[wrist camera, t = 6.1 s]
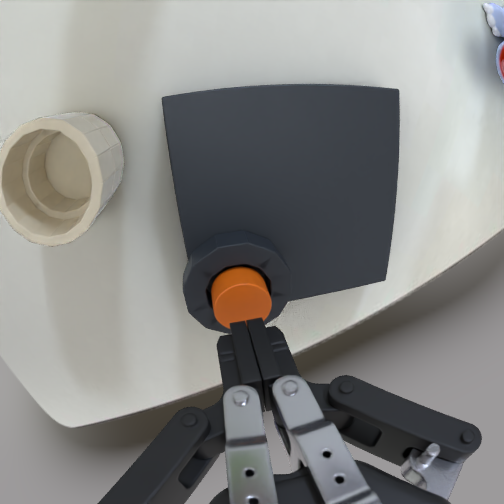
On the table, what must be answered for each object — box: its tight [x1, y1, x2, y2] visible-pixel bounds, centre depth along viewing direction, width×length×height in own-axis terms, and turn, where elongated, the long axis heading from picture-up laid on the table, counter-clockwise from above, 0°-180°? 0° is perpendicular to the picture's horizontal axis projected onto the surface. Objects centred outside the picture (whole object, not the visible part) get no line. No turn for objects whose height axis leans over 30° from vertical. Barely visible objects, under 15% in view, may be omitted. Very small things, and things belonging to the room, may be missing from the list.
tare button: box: [211, 267, 272, 329], centre depth 16 cm, size 3×3×2 cm
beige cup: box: [0, 112, 124, 247], centre depth 13 cm, size 6×6×5 cm
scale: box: [162, 84, 400, 334], centre depth 17 cm, size 13×14×4 cm
